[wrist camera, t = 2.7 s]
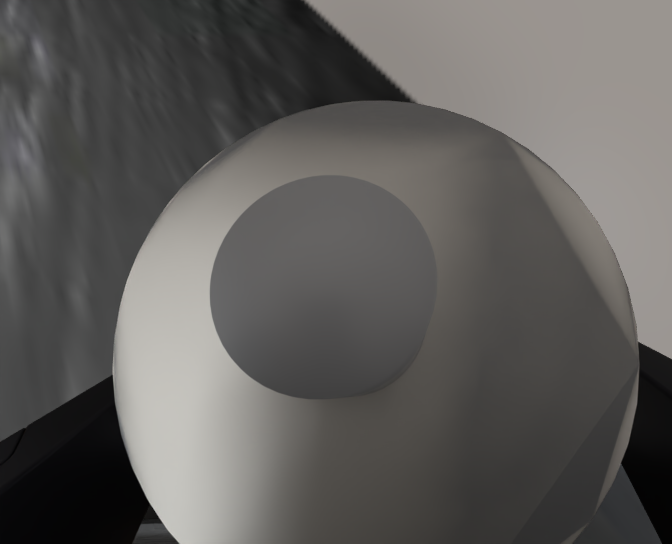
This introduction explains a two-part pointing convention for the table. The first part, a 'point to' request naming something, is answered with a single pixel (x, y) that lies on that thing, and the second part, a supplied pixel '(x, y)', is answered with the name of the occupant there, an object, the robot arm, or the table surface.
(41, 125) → the table surface
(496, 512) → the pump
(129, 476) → the robot arm
